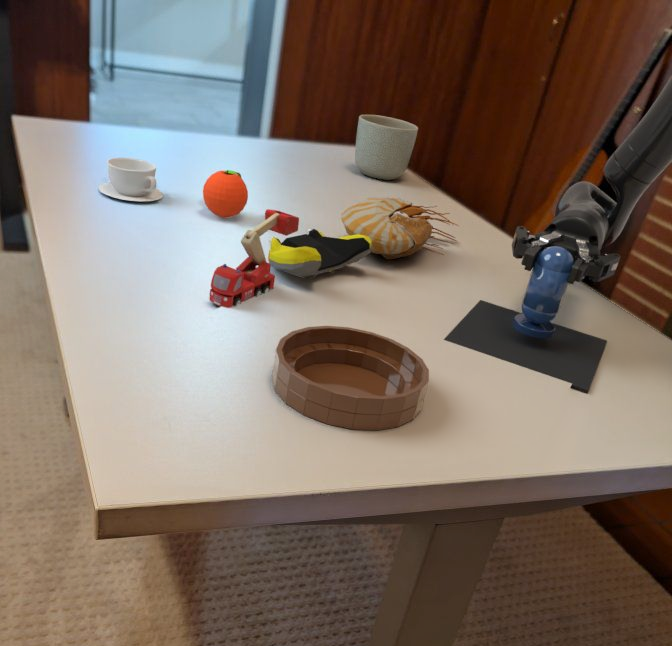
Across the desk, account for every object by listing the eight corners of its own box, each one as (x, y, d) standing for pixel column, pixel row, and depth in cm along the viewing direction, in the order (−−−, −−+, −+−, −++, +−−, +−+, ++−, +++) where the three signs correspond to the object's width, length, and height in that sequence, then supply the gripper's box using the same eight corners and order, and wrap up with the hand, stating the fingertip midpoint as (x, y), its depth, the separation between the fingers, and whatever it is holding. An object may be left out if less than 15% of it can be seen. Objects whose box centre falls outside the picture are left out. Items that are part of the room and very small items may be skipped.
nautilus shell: (435, 242, 129) (476, 281, 118) (319, 227, 120) (352, 268, 109) (450, 196, 124) (495, 232, 113) (331, 178, 115) (367, 215, 104)
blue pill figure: (556, 329, 97) (585, 248, 91) (548, 342, 93) (578, 258, 87) (517, 317, 98) (543, 236, 93) (508, 329, 94) (535, 245, 88)
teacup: (84, 189, 118) (84, 158, 116) (132, 182, 126) (132, 153, 123) (130, 207, 114) (131, 176, 112) (176, 199, 122) (178, 170, 119)
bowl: (438, 391, 81) (447, 358, 79) (388, 454, 68) (397, 416, 66) (312, 346, 85) (318, 313, 83) (243, 397, 72) (248, 360, 70)
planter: (371, 184, 154) (382, 127, 148) (338, 166, 162) (347, 112, 156) (418, 184, 160) (430, 131, 154) (384, 167, 168) (394, 116, 163)
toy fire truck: (205, 304, 89) (212, 223, 84) (269, 278, 100) (278, 205, 95) (228, 313, 88) (236, 232, 83) (290, 286, 99) (301, 213, 94)
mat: (606, 343, 101) (607, 340, 101) (587, 393, 87) (588, 390, 87) (479, 302, 106) (480, 299, 106) (441, 343, 92) (442, 340, 91)
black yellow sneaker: (372, 274, 108) (319, 251, 112) (380, 237, 105) (325, 215, 109) (305, 295, 97) (249, 268, 101) (312, 254, 94) (254, 228, 99)
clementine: (220, 205, 123) (224, 160, 120) (256, 217, 121) (262, 172, 118) (192, 214, 117) (195, 167, 113) (230, 226, 115) (235, 179, 111)
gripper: (531, 196, 102) (502, 220, 89) (637, 225, 98) (623, 256, 85) (515, 249, 106) (484, 281, 93) (616, 279, 102) (599, 317, 89)
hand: (551, 268), depth 89 cm, fingers closed on blue pill figure, 4 cm apart
